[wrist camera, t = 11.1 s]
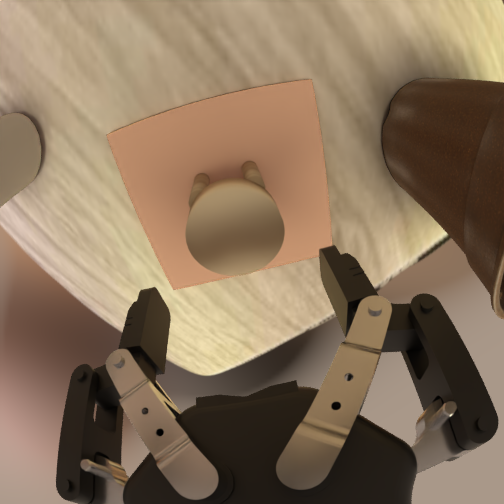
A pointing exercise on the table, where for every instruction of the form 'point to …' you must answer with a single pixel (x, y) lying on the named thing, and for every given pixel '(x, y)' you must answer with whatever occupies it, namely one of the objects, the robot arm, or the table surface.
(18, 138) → the can
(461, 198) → the plant pot
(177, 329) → the table surface
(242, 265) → the stool
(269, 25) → the table surface
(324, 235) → the mat
